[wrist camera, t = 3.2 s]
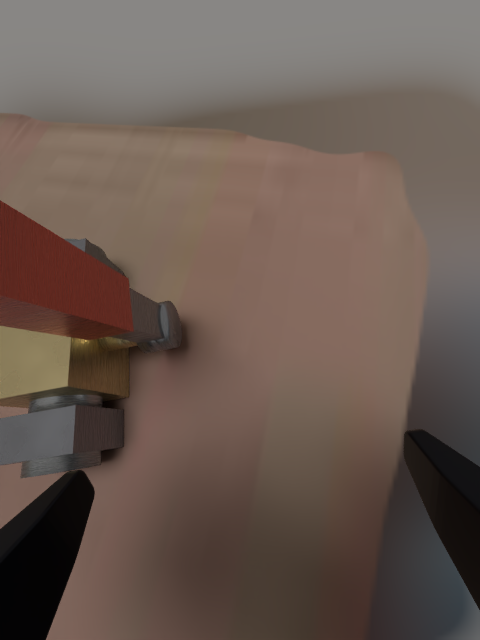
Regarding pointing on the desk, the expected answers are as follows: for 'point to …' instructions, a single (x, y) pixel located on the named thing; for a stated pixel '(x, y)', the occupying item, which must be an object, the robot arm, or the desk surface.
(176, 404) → the desk surface
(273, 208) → the desk surface
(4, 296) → the lever
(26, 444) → the valve
